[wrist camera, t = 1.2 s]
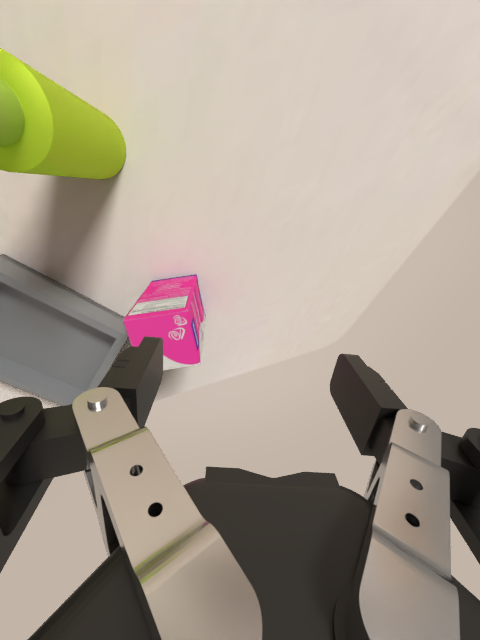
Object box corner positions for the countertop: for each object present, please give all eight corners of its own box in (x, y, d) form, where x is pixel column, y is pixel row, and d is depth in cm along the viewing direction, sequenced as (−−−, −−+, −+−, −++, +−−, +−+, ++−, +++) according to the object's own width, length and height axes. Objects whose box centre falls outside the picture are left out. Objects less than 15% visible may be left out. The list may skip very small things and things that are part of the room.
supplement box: (207, 316, 36) (201, 367, 25) (162, 322, 36) (137, 377, 25) (198, 272, 33) (188, 310, 23) (150, 279, 33) (117, 320, 23)
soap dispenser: (118, 95, 26) (-136, -132, 7) (130, 179, 28) (-29, 161, 10) (52, 94, 25) (-377, -145, 7) (72, 179, 28) (-197, 161, 10)
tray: (-28, 345, 35) (-52, 360, 32) (3, 254, 31) (-22, 261, 28) (94, 396, 40) (82, 413, 37) (136, 323, 35) (127, 336, 32)
